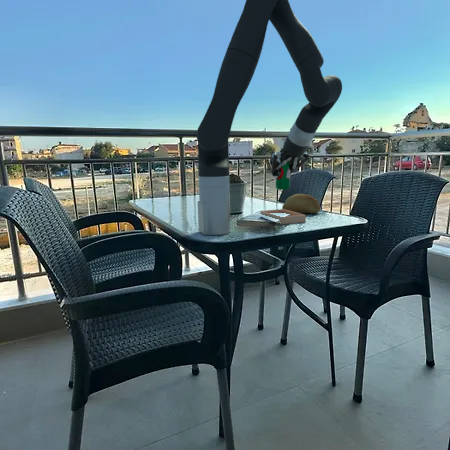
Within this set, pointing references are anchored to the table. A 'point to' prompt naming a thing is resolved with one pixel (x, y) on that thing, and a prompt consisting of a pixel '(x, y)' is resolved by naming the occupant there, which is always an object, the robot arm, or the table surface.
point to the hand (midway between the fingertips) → (280, 174)
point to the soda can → (283, 177)
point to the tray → (290, 219)
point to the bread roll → (302, 204)
